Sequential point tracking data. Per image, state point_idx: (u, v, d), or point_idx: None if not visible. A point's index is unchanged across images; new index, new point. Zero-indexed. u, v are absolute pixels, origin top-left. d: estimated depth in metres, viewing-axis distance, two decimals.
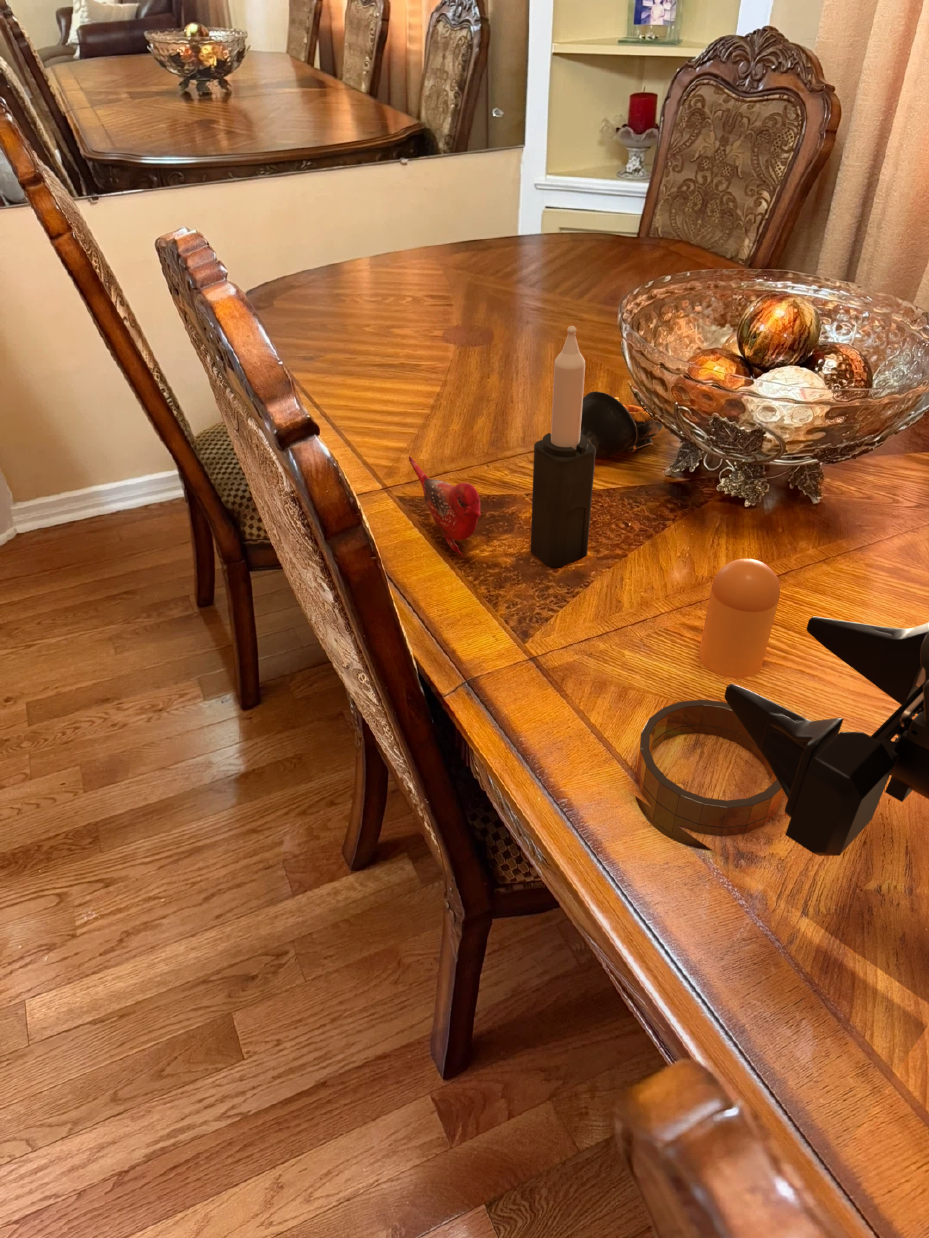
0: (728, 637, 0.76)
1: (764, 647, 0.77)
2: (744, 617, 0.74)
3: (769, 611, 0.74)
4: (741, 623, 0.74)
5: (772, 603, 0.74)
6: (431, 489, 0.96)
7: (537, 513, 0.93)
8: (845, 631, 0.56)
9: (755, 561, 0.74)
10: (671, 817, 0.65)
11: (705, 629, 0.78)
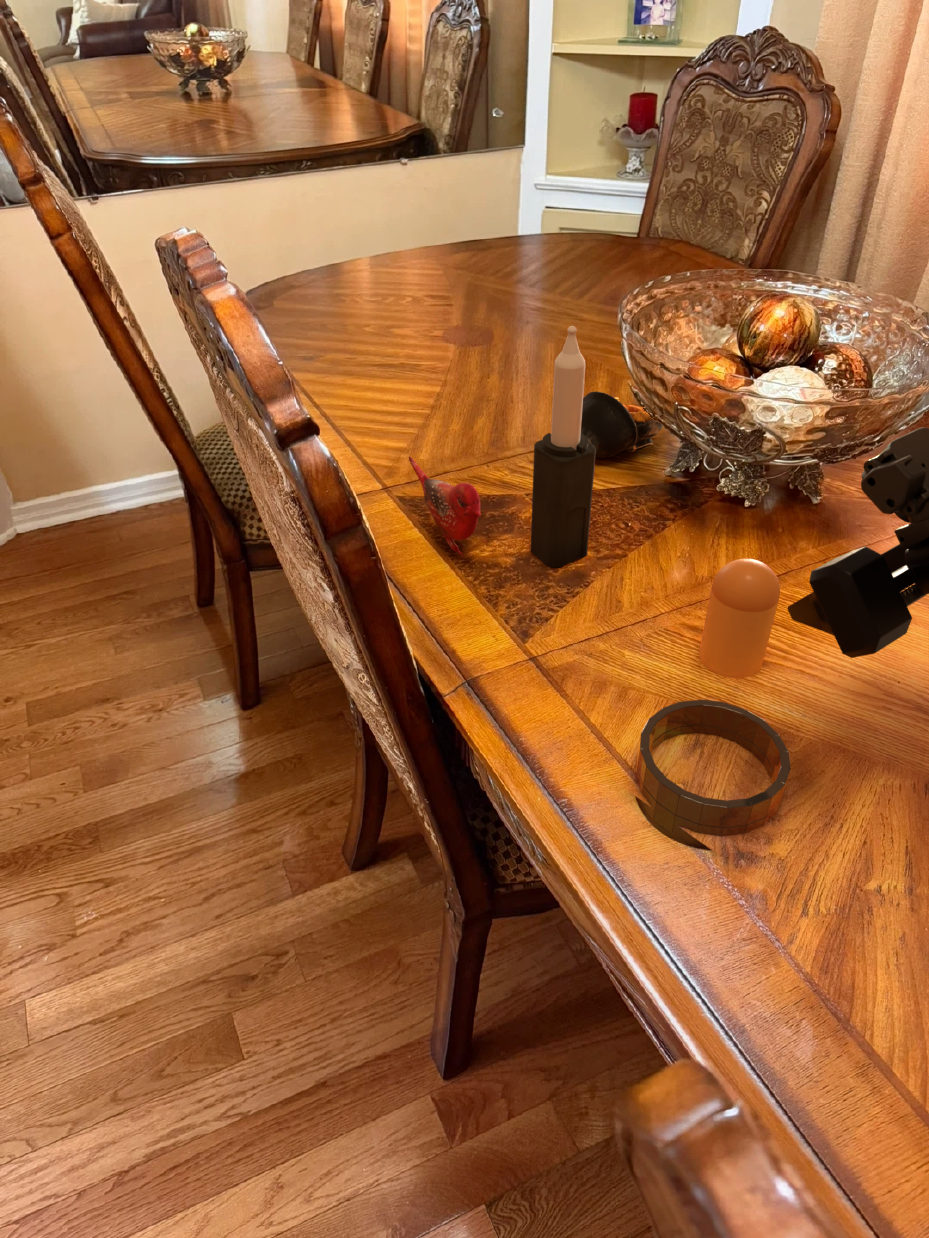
0: (728, 637, 0.76)
1: (764, 647, 0.77)
2: (744, 617, 0.74)
3: (769, 611, 0.74)
4: (741, 623, 0.74)
5: (772, 603, 0.74)
6: (431, 489, 0.96)
7: (537, 513, 0.93)
8: (888, 554, 0.68)
9: (755, 561, 0.74)
10: (671, 817, 0.65)
11: (705, 629, 0.78)
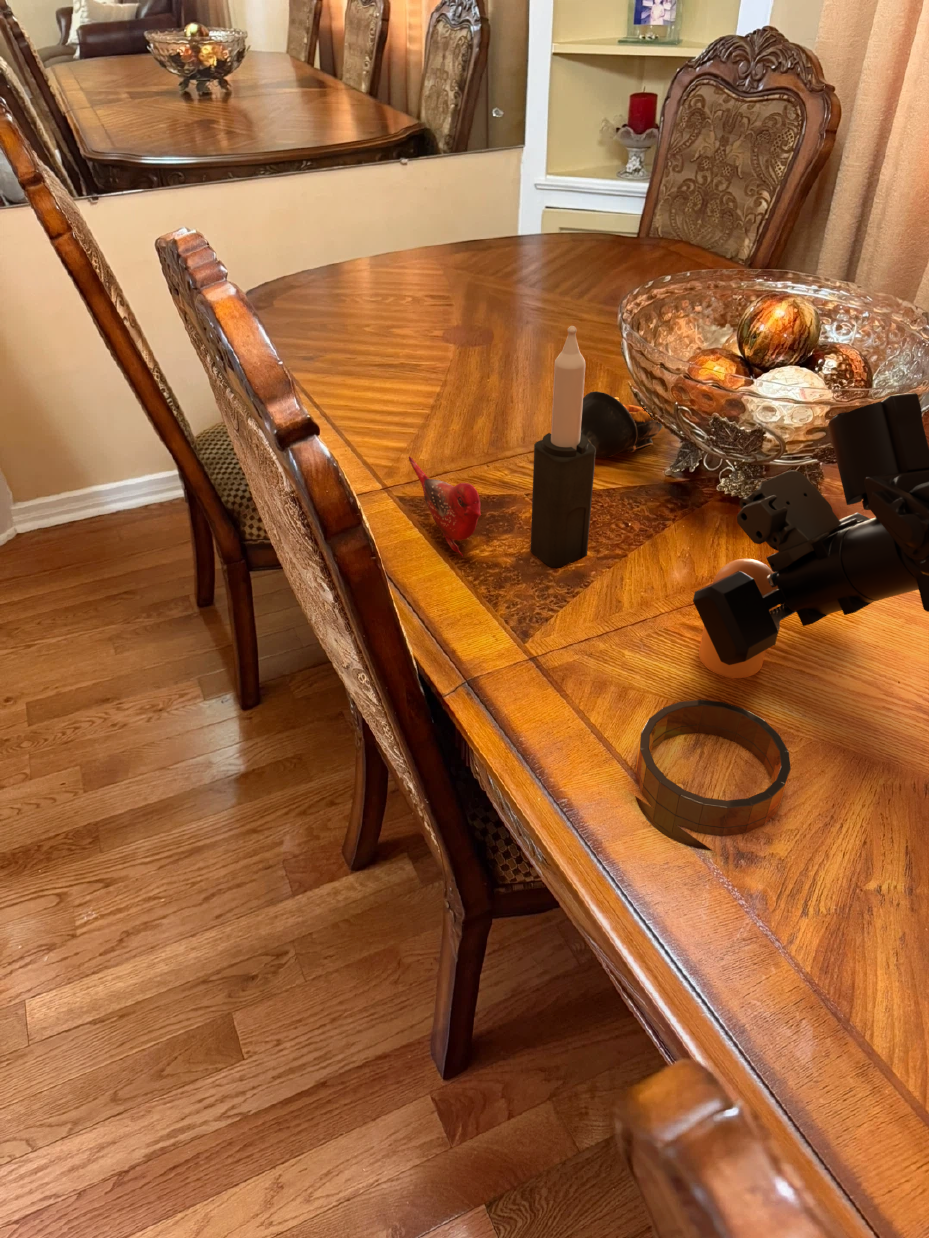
0: None
1: None
2: None
3: None
4: None
5: None
6: (431, 489, 0.96)
7: (537, 513, 0.93)
8: None
9: (755, 561, 0.74)
10: (671, 817, 0.65)
11: (705, 629, 0.78)
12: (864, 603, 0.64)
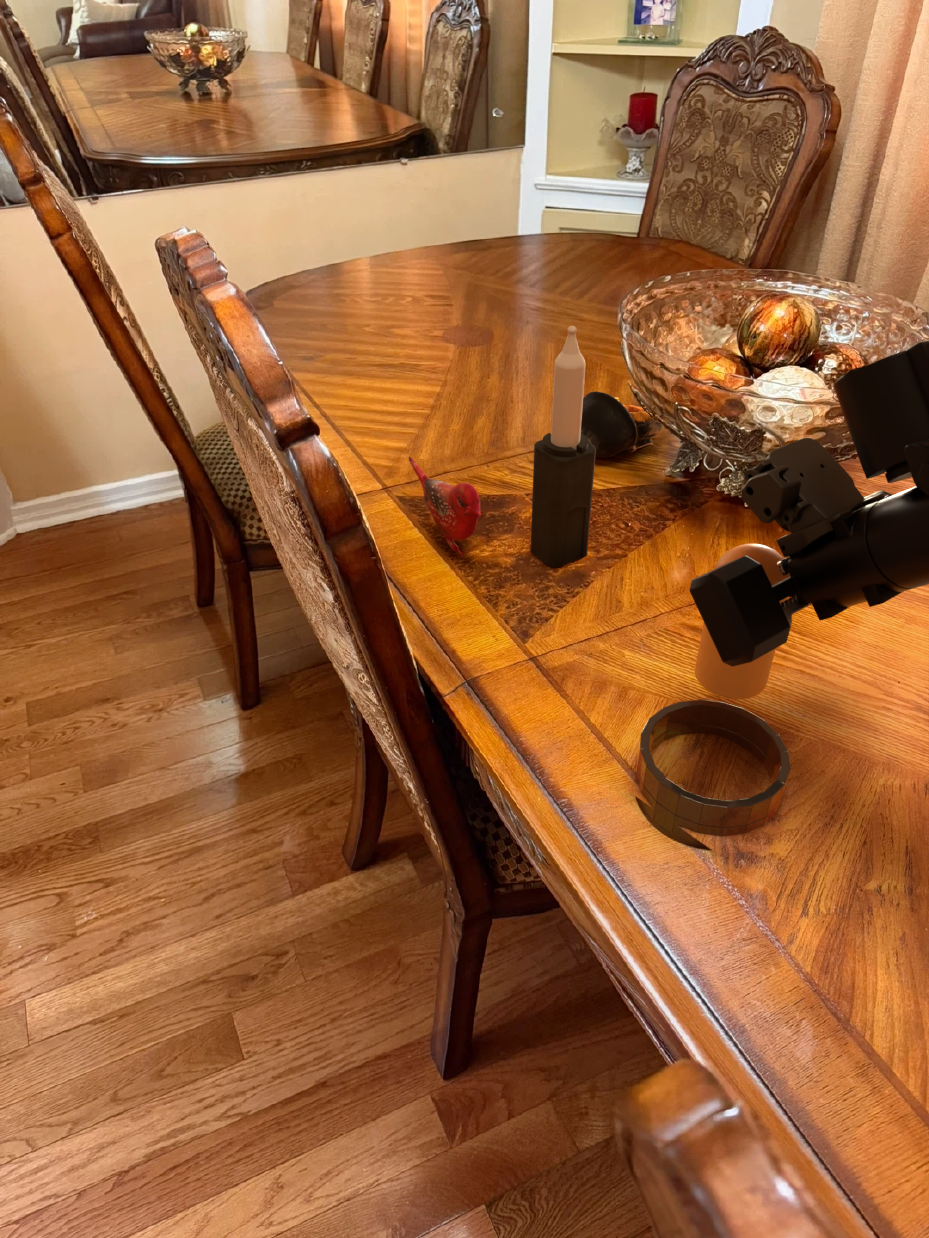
0: None
1: None
2: None
3: None
4: None
5: None
6: (431, 489, 0.96)
7: (537, 513, 0.93)
8: None
9: (762, 546, 0.64)
10: (671, 817, 0.65)
11: (705, 626, 0.68)
12: (893, 592, 0.54)
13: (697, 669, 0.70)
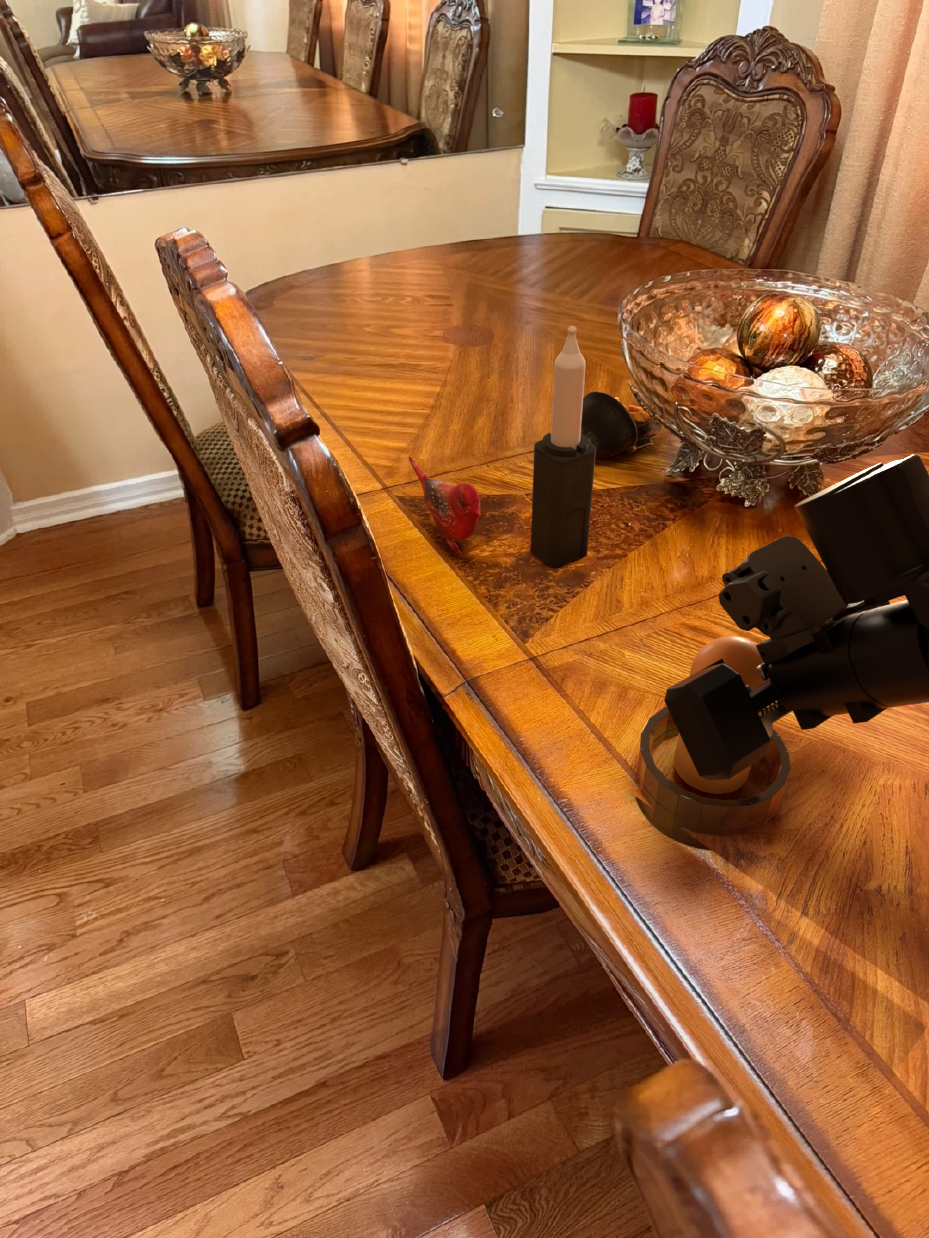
0: None
1: None
2: None
3: None
4: None
5: None
6: (431, 489, 0.96)
7: (537, 513, 0.93)
8: None
9: (743, 641, 0.61)
10: (671, 817, 0.65)
11: None
12: (878, 709, 0.51)
13: (676, 760, 0.67)
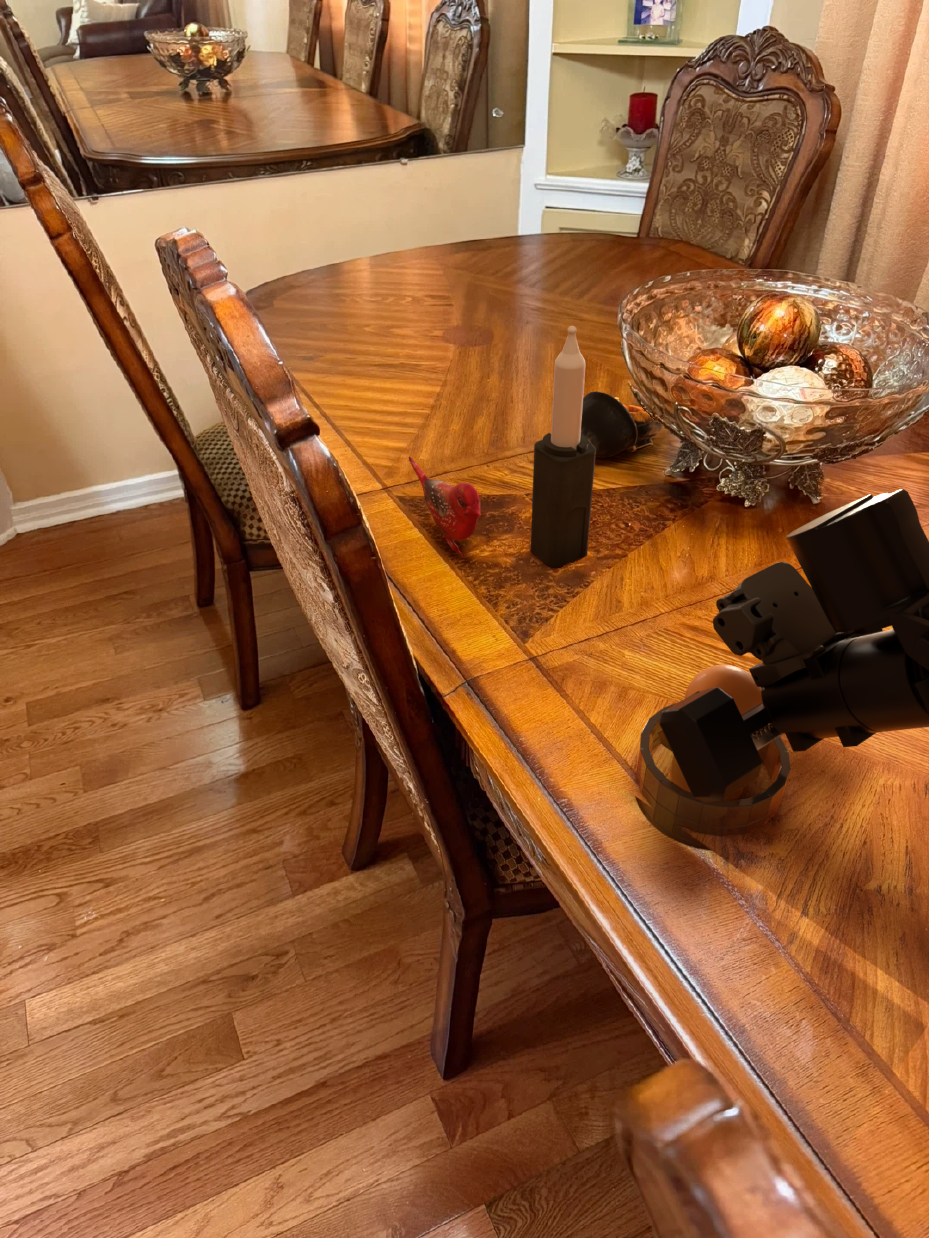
0: None
1: None
2: None
3: None
4: None
5: None
6: (431, 489, 0.96)
7: (537, 513, 0.93)
8: None
9: (735, 669, 0.63)
10: (671, 817, 0.65)
11: None
12: (868, 733, 0.52)
13: None
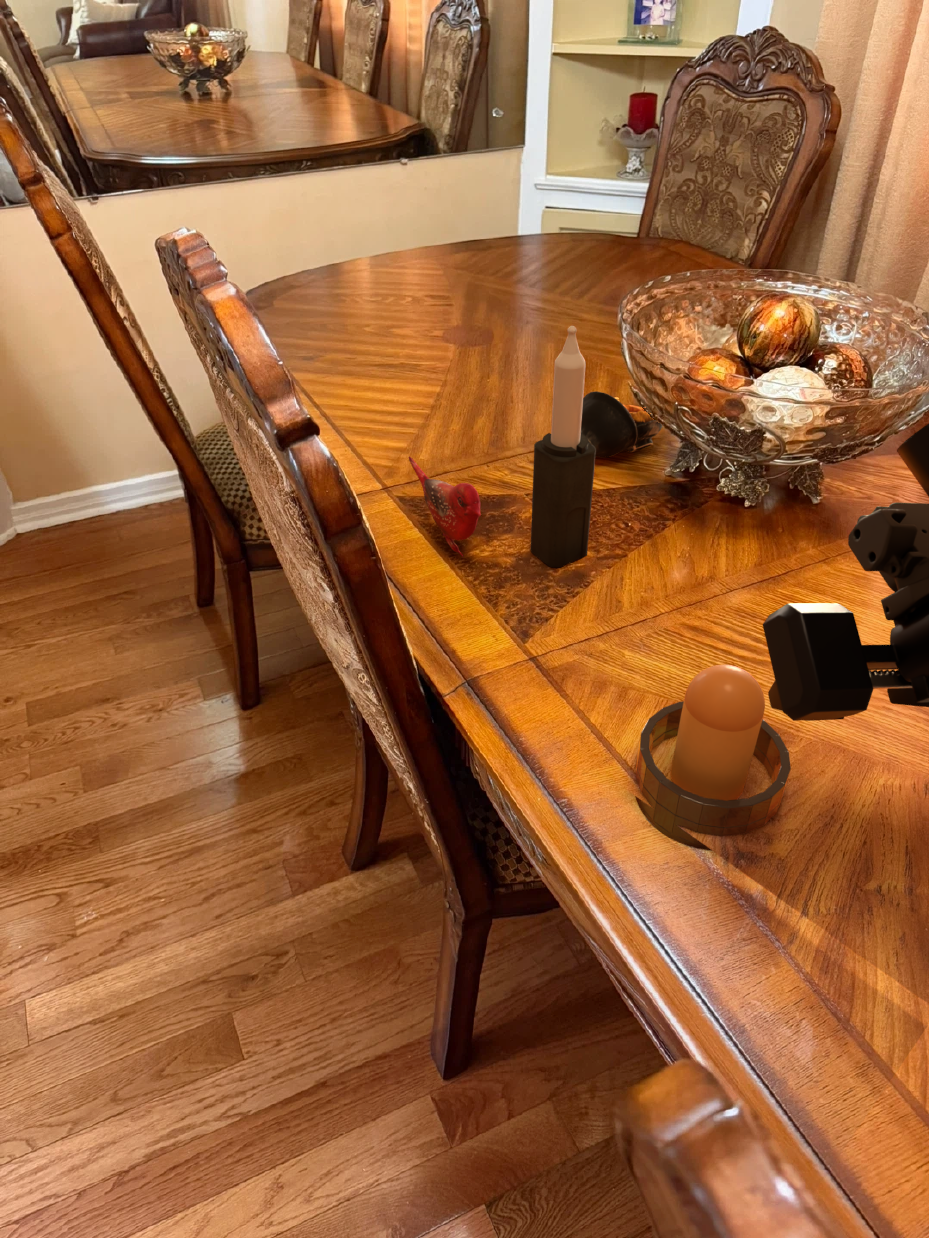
0: (704, 757, 0.64)
1: (747, 766, 0.65)
2: (722, 737, 0.62)
3: (752, 729, 0.62)
4: (719, 743, 0.63)
5: (756, 720, 0.62)
6: (431, 489, 0.96)
7: (537, 513, 0.93)
8: None
9: (735, 669, 0.63)
10: (671, 817, 0.65)
11: (678, 744, 0.67)
12: None
13: None
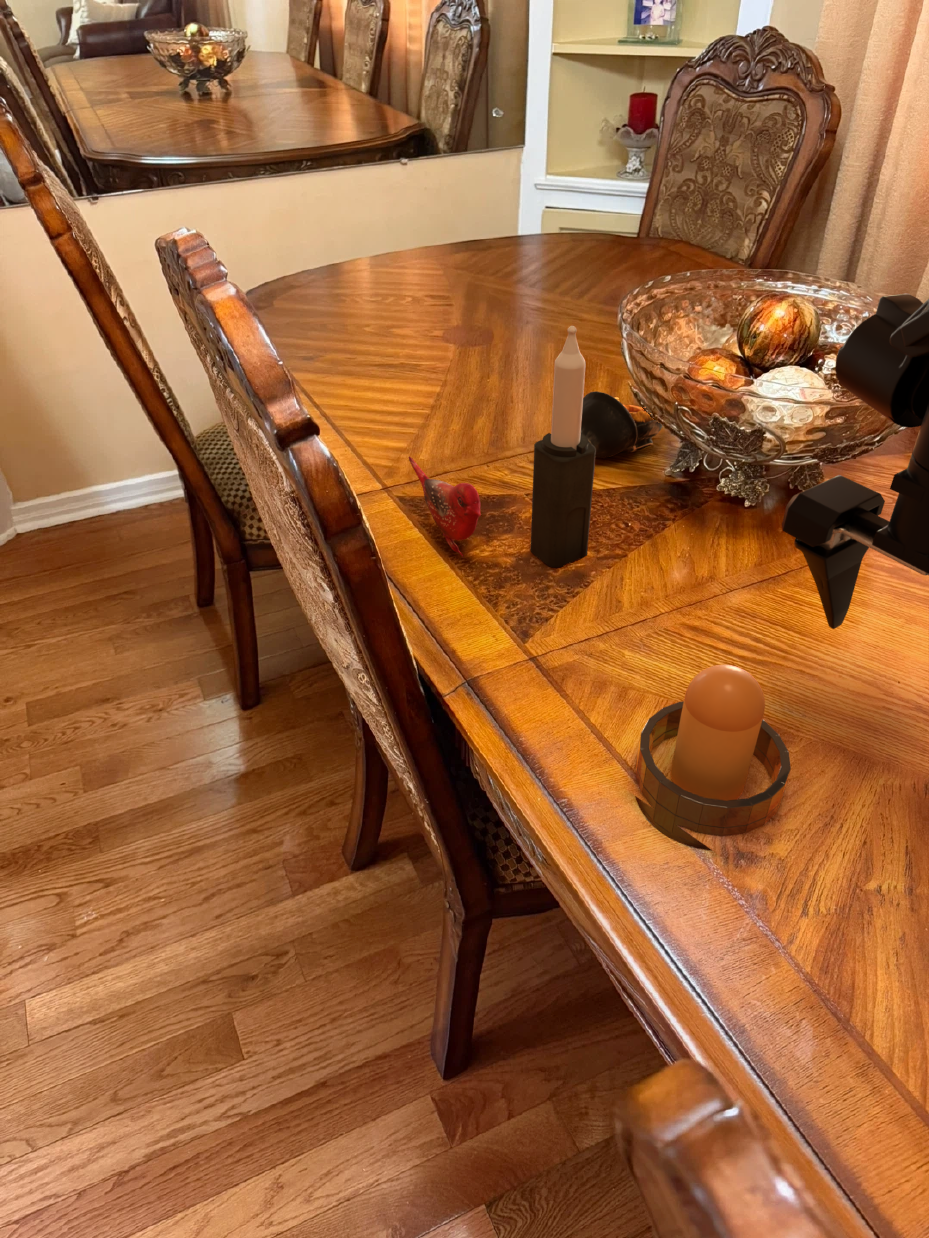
0: (704, 757, 0.64)
1: (747, 766, 0.65)
2: (722, 737, 0.62)
3: (752, 729, 0.62)
4: (719, 743, 0.63)
5: (756, 720, 0.62)
6: (431, 489, 0.96)
7: (537, 513, 0.93)
8: None
9: (735, 669, 0.63)
10: (671, 817, 0.65)
11: (678, 744, 0.67)
12: (914, 480, 0.53)
13: None
